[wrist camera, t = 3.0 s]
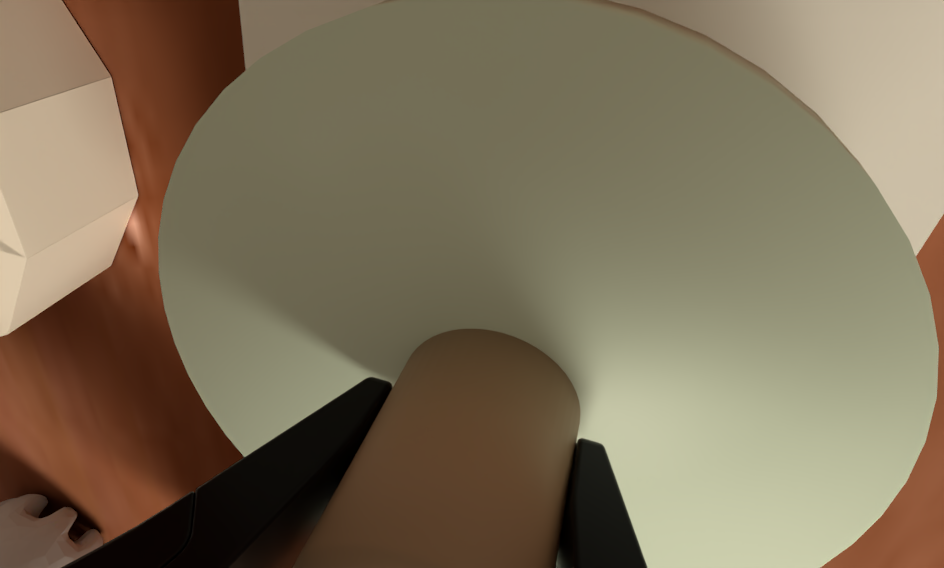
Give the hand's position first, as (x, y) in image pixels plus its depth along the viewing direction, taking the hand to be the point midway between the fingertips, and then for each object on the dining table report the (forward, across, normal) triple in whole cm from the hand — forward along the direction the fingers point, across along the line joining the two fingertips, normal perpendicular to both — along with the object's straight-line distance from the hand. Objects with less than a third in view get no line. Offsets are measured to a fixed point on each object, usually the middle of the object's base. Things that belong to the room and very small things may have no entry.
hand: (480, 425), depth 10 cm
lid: (+1, 0, 0) cm, 1 cm away
